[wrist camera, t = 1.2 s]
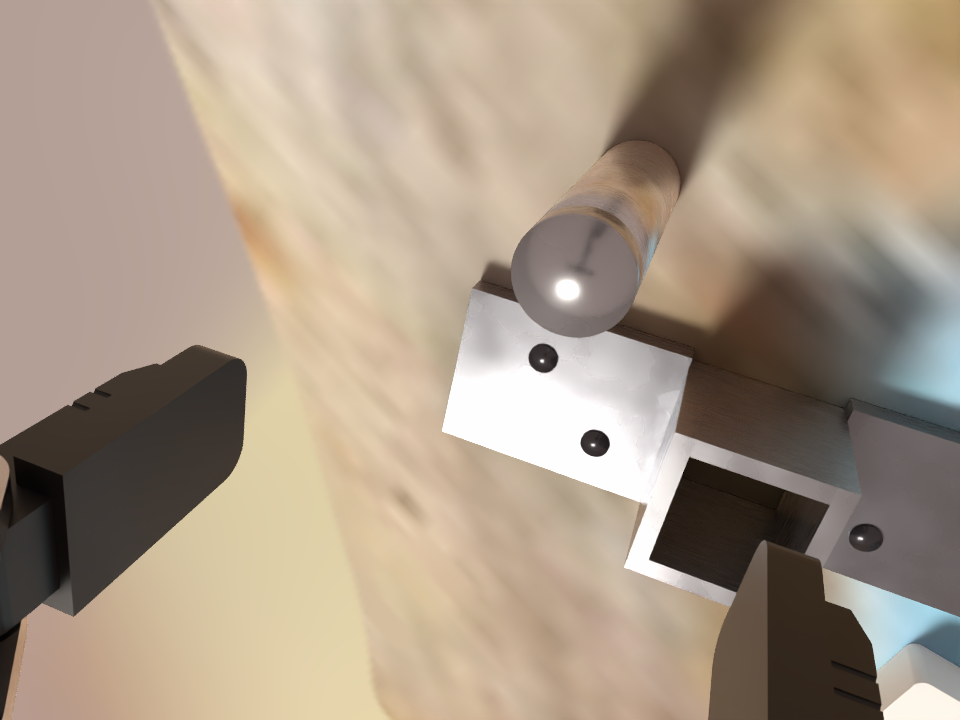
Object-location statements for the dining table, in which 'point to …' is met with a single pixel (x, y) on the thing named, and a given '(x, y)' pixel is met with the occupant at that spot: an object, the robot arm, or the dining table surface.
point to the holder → (919, 686)
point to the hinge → (713, 455)
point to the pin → (597, 242)
